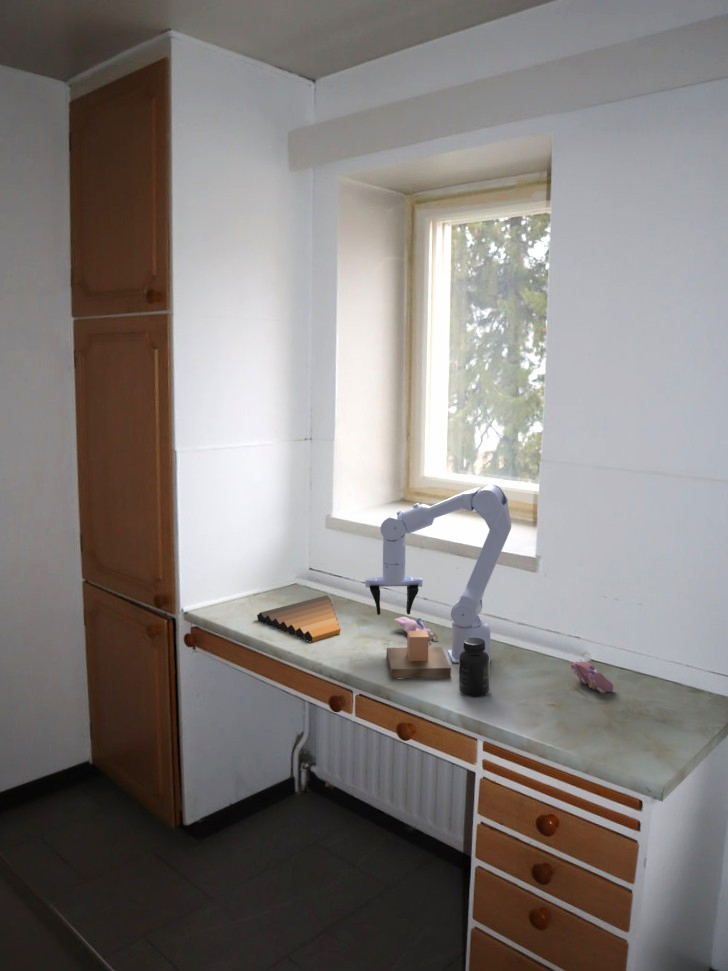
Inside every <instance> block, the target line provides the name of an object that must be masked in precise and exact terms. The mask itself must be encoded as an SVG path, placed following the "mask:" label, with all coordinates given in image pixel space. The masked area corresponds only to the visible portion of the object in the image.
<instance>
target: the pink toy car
mask: <svg viewBox="0 0 728 971" xmlns="http://www.w3.org/2000/svg"><path fill="white" fill-rule="evenodd" d="M570 668H571V672H572V673H573V674H574V675H576V676H577V677H578V678H579V680H580V681H581V683H582V684H584V685H587V684H588V686H589V688H591V690H594V691H595V690H596V689H597V688H598V689H599V690H601V691H602V692H603V691H604V692H606V693H611V692H613V690H614V684H613V683H612V682H611V681H610V680H609V679H607V678H606V677H605V676H604V675H603V673H602V672H601V671H599V669H597V668H596V667H595V666H594V665H593V664H592V663H590V662H588V661H582V659H579V660H578V661H574V662H573V663H572V664H570Z"/></svg>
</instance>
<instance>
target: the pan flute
mask: <svg viewBox="0 0 728 971" xmlns="http://www.w3.org/2000/svg"><path fill="white" fill-rule="evenodd" d="M336 614H337V613H336V612H335V608H334V607H333V603H332V599H331V598H330V597H329V595H328V594H327V595H323V596H322V595H321V596H318V597H315V598H310V599H306V600H303V601H300V602H299V601H298V602H295V603H292V604H289V605H288V604H287V605H284V606H280V607H276V608H272V609H268V610H264V611H261V612H259V613H258V614H257V615H256V617H257V621H258V622H260V623H262V624H265V625H267V626H270V627H273V628H274V629H277V630H280V631H282V632H284V633H288V634H290V635H292V636H294V635H295V636H296V637H297V638H299V637H300V638H299V639H301V640H305V641H307V640H308V641H307V642H309V641H311V642H310V643H313V642H317V640H318V641H321V640H324V639H327V638H330V636H331V637H333V635H334V636H337V635H339V634H340V633H341V626H340V623H339V621H338V617H337V616H336ZM336 634H337V635H336ZM304 638H305V639H304ZM320 639H321V640H320Z"/></svg>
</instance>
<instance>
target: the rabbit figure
mask: <svg viewBox="0 0 728 971" xmlns="http://www.w3.org/2000/svg"><path fill="white" fill-rule="evenodd" d="M393 621H395V622H397V623H398V624H399V625H400V626H401V627H402V628H403V629H404V632H406V633H407V631H426V632H427V634H428V637H429V641H428V644H430V643H431V642H432V640H433V639H434V638H435V641H438V639H439V638H438V636H439V635H436V633H433V632H432V631H431V629H430V628H426V627H425V624H424V622H422V618H421V617H417V618H416V620H414V619H410V618H409V617H406V616H401V617H398V618H394V619H393ZM421 628H422V629H421Z"/></svg>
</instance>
